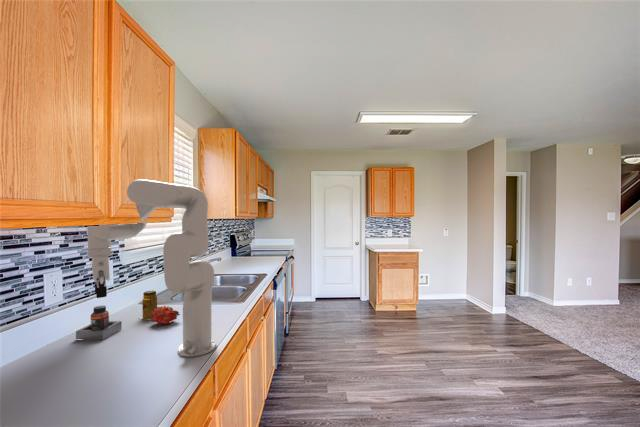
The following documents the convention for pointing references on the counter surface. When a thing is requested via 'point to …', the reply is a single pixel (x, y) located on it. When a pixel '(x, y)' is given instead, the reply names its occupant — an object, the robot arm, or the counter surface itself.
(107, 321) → the supplement bottle
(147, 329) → the counter surface
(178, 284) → the robot arm
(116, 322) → the square tray frame
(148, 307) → the condiment
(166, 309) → the dragon fruit
